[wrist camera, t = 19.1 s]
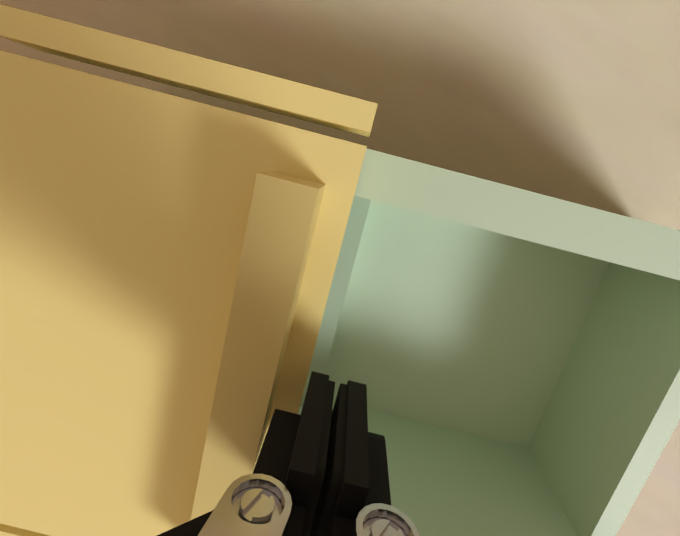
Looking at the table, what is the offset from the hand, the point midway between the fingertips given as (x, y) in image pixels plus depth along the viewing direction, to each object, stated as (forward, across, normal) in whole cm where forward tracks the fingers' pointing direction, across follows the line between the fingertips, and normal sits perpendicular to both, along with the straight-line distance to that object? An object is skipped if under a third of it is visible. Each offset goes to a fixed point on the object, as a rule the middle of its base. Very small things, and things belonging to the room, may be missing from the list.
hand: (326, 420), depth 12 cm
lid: (+2, +6, 0) cm, 6 cm away
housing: (+11, -1, 0) cm, 11 cm away
